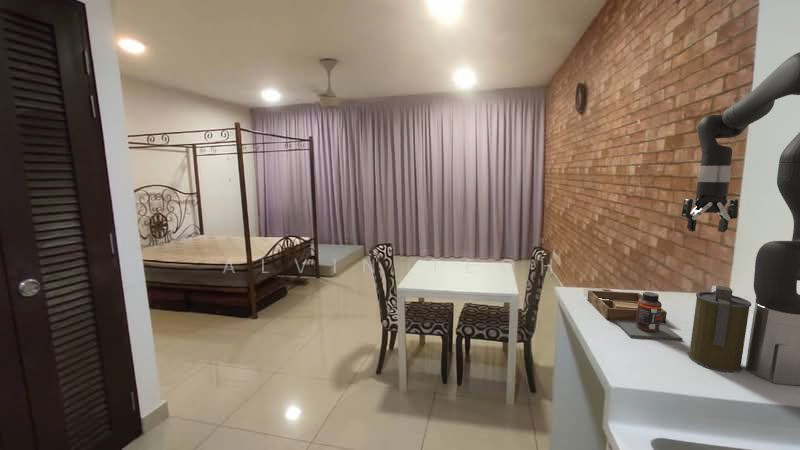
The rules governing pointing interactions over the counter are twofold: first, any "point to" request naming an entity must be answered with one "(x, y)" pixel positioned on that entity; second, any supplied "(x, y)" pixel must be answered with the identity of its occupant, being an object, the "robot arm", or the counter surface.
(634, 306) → the upper offcut
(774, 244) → the robot arm
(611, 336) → the counter surface
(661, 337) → the charcoal mat
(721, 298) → the canister
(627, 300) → the walnut tray
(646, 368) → the counter surface
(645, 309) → the supplement bottle
